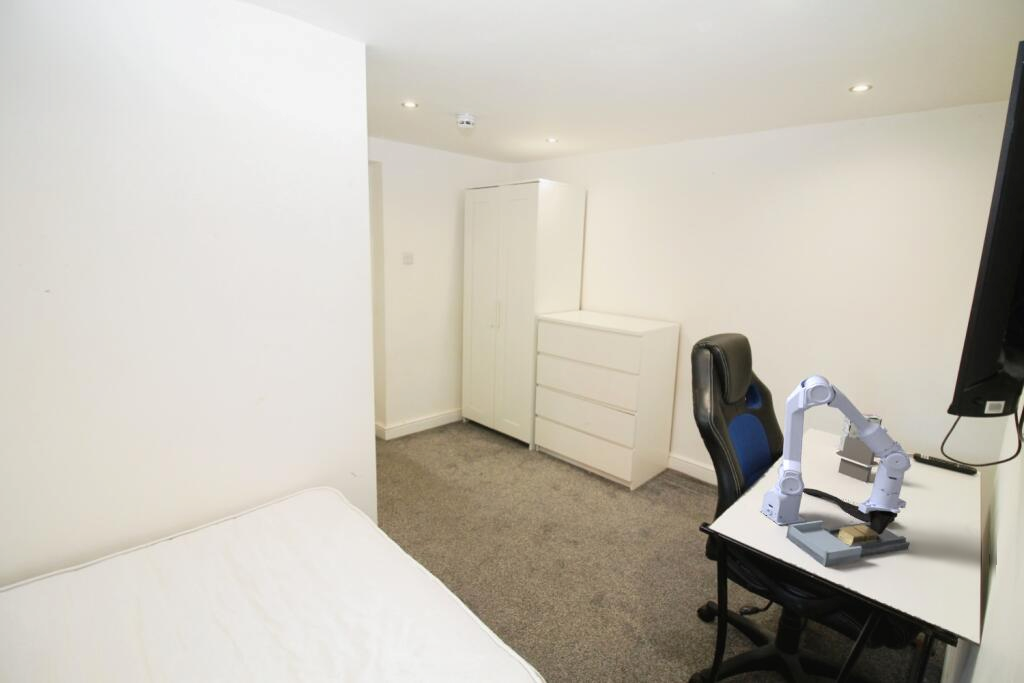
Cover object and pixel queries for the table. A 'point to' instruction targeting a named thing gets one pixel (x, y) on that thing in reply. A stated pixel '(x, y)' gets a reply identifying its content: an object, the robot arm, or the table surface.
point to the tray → (822, 544)
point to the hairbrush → (842, 505)
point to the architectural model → (856, 459)
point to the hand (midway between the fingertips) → (876, 532)
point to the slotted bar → (874, 541)
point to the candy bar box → (855, 428)
